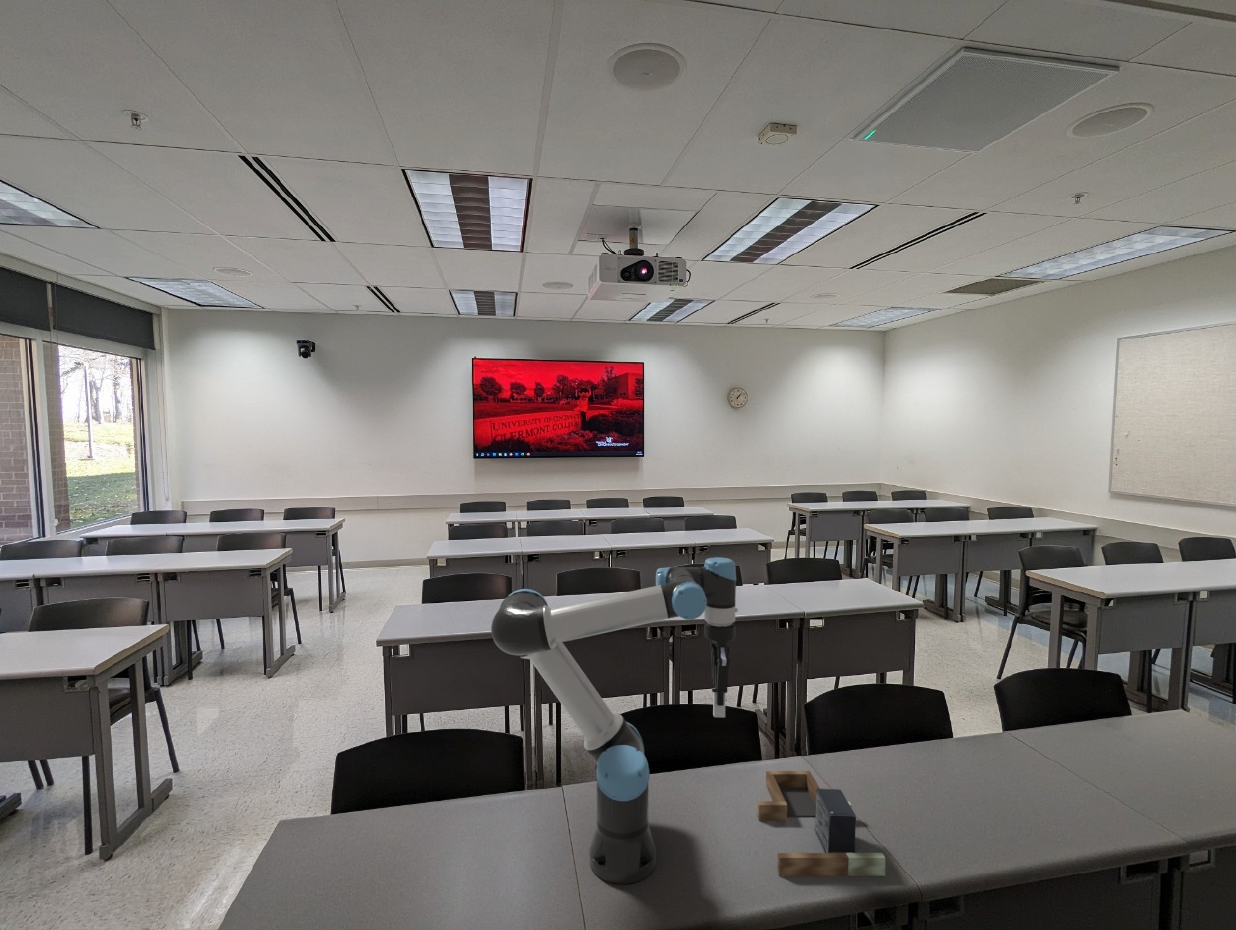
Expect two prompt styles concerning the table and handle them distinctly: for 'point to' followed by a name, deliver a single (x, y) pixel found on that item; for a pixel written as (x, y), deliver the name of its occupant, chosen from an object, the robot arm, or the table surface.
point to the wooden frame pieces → (812, 861)
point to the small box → (834, 821)
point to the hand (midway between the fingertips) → (719, 715)
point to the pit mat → (798, 802)
